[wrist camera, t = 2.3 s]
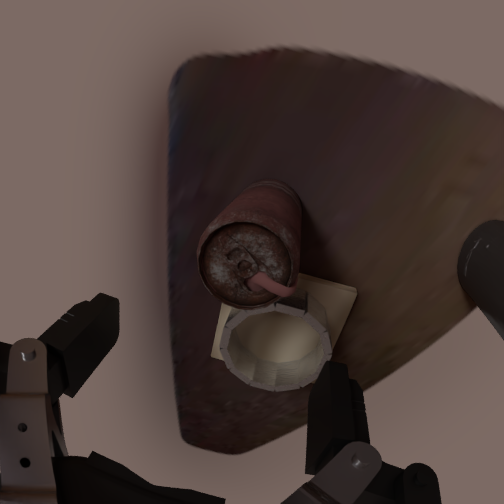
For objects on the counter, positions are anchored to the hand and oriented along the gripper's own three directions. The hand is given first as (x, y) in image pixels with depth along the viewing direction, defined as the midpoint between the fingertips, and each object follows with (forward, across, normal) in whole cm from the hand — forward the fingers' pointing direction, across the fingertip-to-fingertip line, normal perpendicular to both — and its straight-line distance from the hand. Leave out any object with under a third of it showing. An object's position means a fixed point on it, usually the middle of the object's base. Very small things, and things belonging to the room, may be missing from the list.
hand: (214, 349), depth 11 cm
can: (+21, 0, 0) cm, 21 cm away
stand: (+21, -4, +12) cm, 25 cm away
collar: (+20, -4, +12) cm, 24 cm away
